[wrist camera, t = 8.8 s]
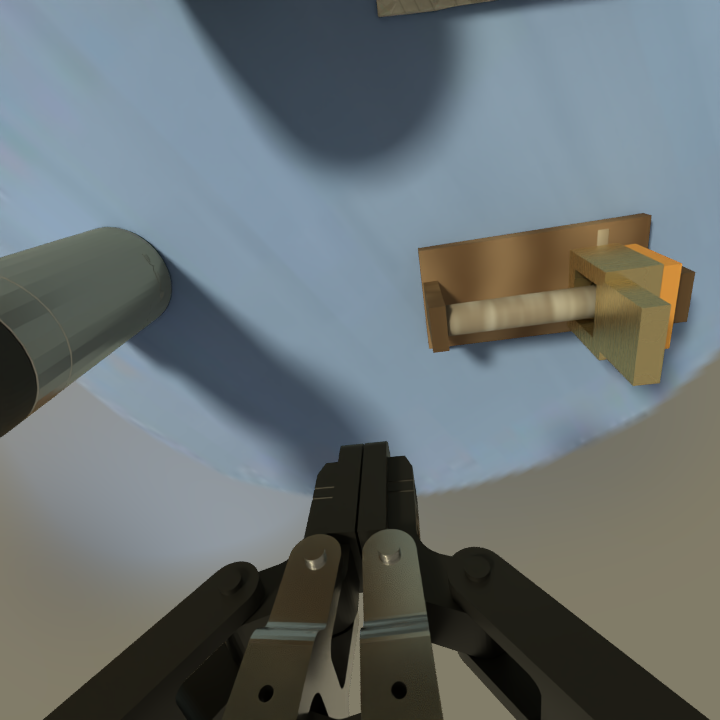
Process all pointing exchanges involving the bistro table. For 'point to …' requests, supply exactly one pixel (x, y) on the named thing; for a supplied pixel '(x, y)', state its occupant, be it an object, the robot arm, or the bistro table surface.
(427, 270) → the pipe board
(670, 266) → the orange upright board
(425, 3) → the packaged product
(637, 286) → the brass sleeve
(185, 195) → the bistro table surface
